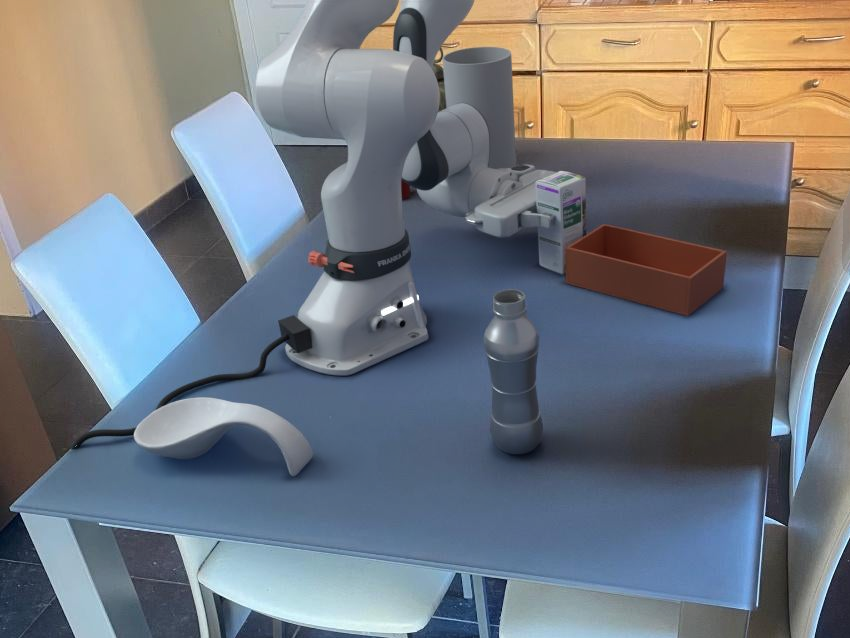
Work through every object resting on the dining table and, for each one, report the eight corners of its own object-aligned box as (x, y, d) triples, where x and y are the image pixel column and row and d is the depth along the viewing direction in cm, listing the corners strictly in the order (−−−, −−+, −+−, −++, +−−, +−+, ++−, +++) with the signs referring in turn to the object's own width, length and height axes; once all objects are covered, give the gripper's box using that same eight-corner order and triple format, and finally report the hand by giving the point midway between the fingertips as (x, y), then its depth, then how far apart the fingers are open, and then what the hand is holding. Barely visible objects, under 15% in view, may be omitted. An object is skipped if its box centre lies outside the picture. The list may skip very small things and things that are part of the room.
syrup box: (563, 275, 152) (561, 187, 143) (537, 265, 156) (534, 178, 146) (587, 263, 155) (587, 176, 146) (561, 254, 158) (560, 168, 149)
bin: (723, 287, 144) (727, 251, 140) (687, 316, 138) (690, 278, 134) (603, 258, 156) (603, 223, 152) (565, 283, 150) (565, 247, 146)
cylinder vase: (496, 208, 177) (488, 66, 161) (442, 199, 183) (428, 61, 167) (528, 185, 185) (523, 49, 169) (475, 178, 191) (466, 45, 175)
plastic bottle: (505, 467, 112) (495, 315, 99) (482, 439, 117) (470, 292, 104) (553, 451, 114) (549, 301, 101) (528, 424, 119) (522, 278, 106)
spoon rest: (123, 464, 118) (104, 416, 114) (177, 415, 127) (162, 369, 122) (282, 495, 111) (270, 446, 106) (329, 441, 119) (319, 393, 115)
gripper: (456, 199, 148) (526, 215, 141) (533, 160, 160) (601, 173, 153) (460, 237, 152) (527, 255, 145) (534, 197, 164) (600, 211, 157)
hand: (566, 212), depth 149 cm, fingers open, 6 cm apart
